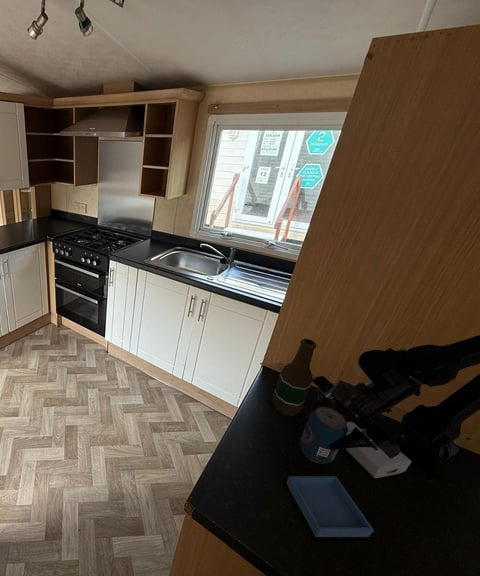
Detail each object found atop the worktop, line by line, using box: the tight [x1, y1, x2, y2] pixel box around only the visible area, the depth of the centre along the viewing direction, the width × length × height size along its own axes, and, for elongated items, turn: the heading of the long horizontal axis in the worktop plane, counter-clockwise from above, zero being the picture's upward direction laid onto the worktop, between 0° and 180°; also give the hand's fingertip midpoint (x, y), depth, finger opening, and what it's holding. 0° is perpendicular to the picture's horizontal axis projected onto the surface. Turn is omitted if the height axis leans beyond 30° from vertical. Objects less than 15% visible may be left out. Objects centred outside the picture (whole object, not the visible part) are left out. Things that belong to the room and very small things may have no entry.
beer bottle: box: [271, 338, 317, 417], centre depth 89 cm, size 8×8×24 cm
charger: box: [345, 421, 412, 479], centre depth 81 cm, size 5×9×15 cm
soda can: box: [299, 407, 348, 465], centre depth 71 cm, size 7×7×12 cm
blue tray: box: [285, 475, 375, 538], centre depth 68 cm, size 11×11×3 cm
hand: (317, 433), depth 71 cm, fingers closed on soda can, 7 cm apart
